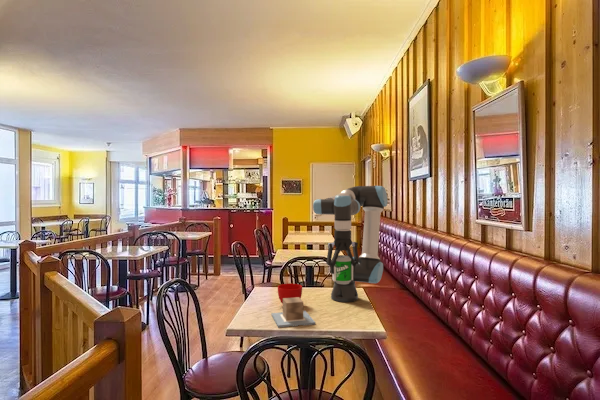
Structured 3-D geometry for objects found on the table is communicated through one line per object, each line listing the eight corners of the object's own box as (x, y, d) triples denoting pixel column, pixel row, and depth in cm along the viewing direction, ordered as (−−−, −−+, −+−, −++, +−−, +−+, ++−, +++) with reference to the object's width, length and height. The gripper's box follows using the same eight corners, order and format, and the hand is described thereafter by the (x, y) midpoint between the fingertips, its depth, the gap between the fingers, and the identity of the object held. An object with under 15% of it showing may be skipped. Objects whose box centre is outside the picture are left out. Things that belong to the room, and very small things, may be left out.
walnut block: (298, 313, 176) (299, 297, 176) (303, 319, 168) (303, 301, 168) (282, 315, 174) (282, 298, 174) (286, 320, 166) (286, 303, 166)
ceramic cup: (303, 299, 203) (303, 282, 203) (300, 309, 186) (301, 289, 186) (280, 299, 204) (280, 281, 204) (275, 308, 187) (275, 289, 187)
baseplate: (305, 312, 181) (305, 310, 181) (315, 324, 165) (315, 321, 165) (271, 315, 177) (271, 312, 177) (278, 327, 160) (278, 325, 160)
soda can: (340, 279, 171) (340, 254, 170) (354, 282, 166) (354, 256, 165) (331, 283, 165) (331, 256, 164) (345, 285, 160) (345, 258, 160)
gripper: (360, 228, 171) (360, 276, 171) (318, 229, 166) (318, 279, 166) (367, 229, 164) (367, 280, 164) (323, 231, 158) (323, 283, 159)
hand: (342, 280), depth 165 cm, fingers closed on soda can, 7 cm apart
